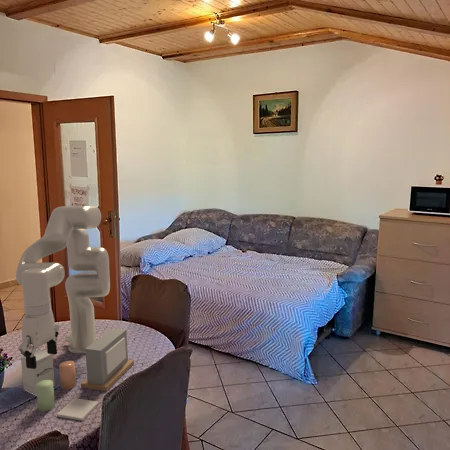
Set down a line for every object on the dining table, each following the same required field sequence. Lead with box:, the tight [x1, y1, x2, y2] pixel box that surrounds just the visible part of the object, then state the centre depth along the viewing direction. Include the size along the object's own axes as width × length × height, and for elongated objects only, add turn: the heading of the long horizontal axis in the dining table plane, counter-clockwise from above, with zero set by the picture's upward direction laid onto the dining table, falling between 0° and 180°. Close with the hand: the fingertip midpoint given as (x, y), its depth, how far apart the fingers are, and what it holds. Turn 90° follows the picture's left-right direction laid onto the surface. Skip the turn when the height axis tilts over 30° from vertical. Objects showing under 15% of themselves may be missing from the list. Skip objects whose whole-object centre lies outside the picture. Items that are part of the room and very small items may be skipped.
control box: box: [80, 327, 135, 392], centre depth 154 cm, size 10×20×14 cm, turn 165°
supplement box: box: [20, 348, 56, 395], centre depth 145 cm, size 7×7×13 cm
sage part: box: [36, 380, 56, 413], centre depth 135 cm, size 5×5×8 cm
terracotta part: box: [58, 360, 77, 390], centre depth 148 cm, size 5×5×8 cm
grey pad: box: [56, 397, 100, 422], centre depth 134 cm, size 9×9×1 cm
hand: (42, 360), depth 133 cm, fingers open, 9 cm apart
